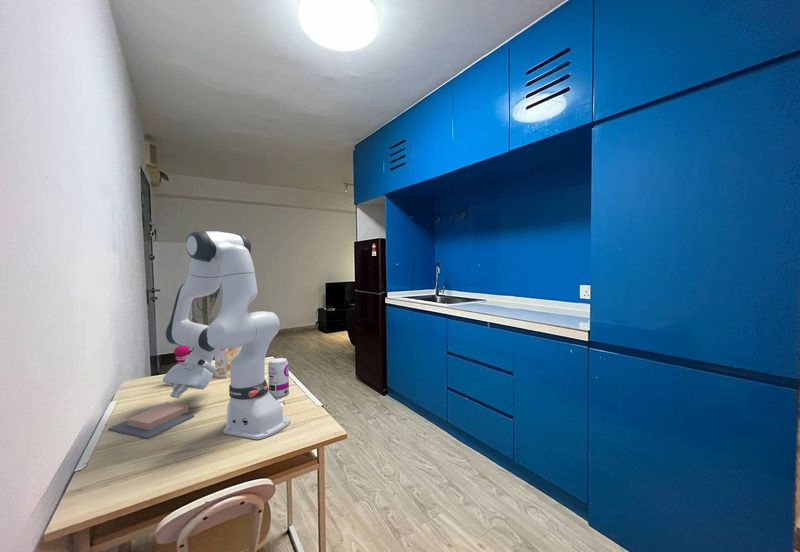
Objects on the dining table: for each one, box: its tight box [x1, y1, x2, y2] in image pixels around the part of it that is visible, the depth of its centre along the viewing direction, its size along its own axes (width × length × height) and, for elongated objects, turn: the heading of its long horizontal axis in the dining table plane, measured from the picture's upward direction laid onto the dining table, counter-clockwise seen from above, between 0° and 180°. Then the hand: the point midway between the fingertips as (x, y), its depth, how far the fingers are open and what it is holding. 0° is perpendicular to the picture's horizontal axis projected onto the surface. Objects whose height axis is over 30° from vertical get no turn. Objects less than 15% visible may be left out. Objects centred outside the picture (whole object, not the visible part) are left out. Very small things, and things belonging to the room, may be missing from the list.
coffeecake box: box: [214, 346, 242, 379], centre depth 168 cm, size 15×7×20 cm, turn 168°
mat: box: [108, 413, 195, 440], centre depth 115 cm, size 16×20×1 cm
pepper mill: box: [173, 345, 190, 364], centre depth 153 cm, size 7×7×20 cm
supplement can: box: [267, 357, 290, 398], centre depth 139 cm, size 8×8×15 cm
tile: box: [126, 402, 189, 431], centre depth 117 cm, size 2×11×14 cm
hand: (174, 397), depth 122 cm, fingers closed
